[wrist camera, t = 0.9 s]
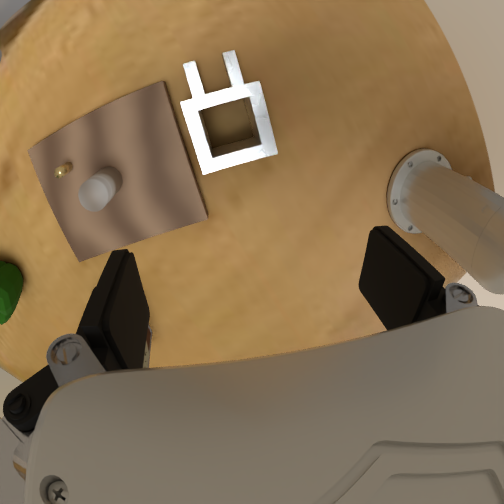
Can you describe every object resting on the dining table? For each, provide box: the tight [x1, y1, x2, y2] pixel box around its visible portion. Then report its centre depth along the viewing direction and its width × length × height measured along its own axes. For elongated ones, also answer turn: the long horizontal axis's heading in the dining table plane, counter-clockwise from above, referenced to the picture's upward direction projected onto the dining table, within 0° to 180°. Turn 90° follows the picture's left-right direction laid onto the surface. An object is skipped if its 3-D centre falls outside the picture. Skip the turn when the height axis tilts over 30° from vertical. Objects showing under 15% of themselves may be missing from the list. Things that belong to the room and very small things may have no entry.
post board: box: [28, 81, 208, 262], centre depth 26 cm, size 18×16×6 cm
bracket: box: [180, 50, 278, 175], centre depth 24 cm, size 11×7×6 cm, turn 14°
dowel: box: [54, 162, 73, 178], centre depth 25 cm, size 1×1×2 cm
